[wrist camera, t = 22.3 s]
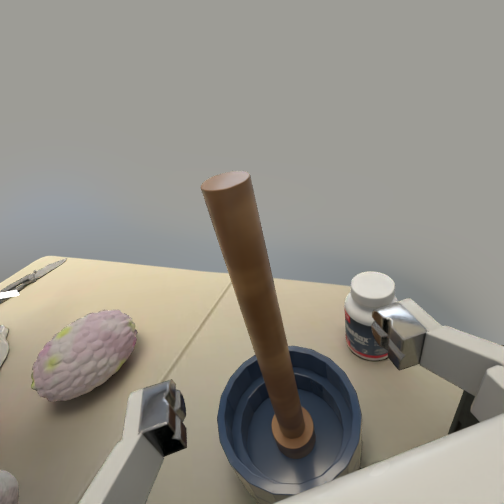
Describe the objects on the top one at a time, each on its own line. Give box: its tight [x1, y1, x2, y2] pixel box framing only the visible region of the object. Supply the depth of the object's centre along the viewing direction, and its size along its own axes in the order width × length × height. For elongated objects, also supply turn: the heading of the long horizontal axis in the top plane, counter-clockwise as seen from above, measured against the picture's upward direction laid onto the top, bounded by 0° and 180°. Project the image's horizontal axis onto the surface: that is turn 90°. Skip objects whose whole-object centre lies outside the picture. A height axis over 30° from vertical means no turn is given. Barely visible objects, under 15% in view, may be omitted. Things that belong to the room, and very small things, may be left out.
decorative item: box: [31, 310, 137, 401], centre depth 35 cm, size 9×11×10 cm
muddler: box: [201, 171, 316, 459], centre depth 19 cm, size 4×4×24 cm
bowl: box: [217, 346, 362, 504], centre depth 24 cm, size 11×11×6 cm
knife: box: [0, 258, 67, 303], centre depth 61 cm, size 2×18×3 cm
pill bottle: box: [345, 272, 398, 360], centre depth 30 cm, size 5×5×9 cm
